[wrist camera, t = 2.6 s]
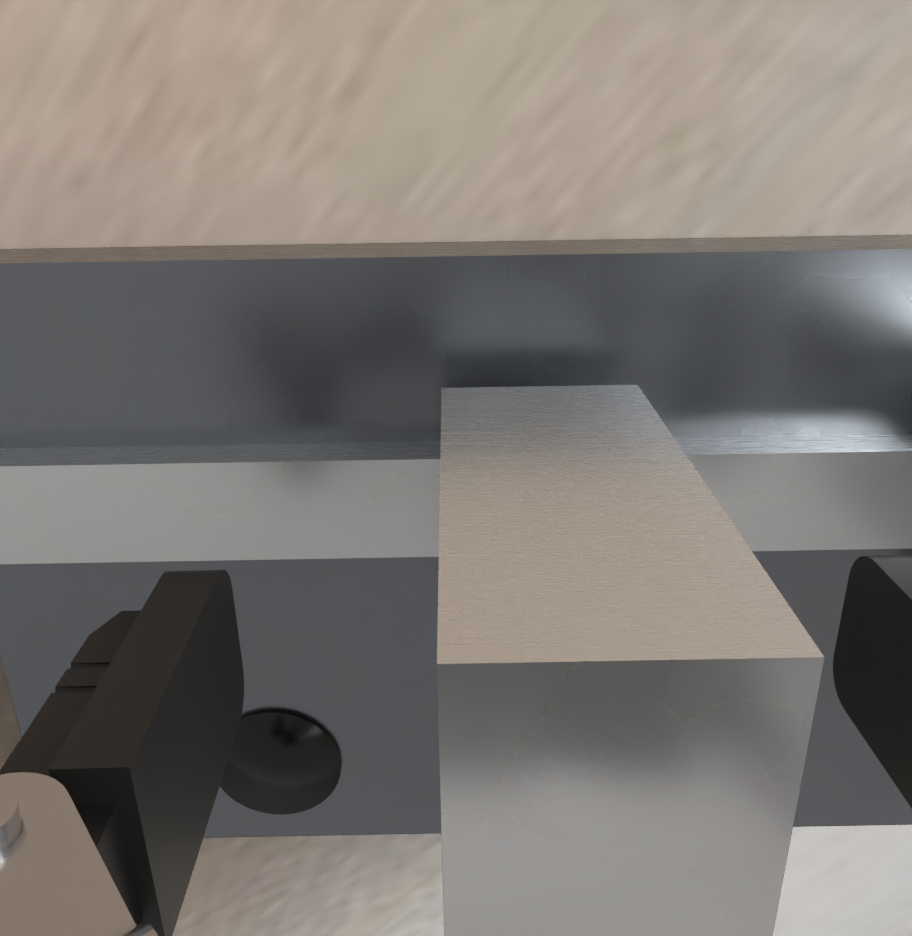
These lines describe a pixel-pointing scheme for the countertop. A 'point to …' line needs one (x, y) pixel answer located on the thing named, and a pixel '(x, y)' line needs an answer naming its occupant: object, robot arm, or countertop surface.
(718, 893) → the leg
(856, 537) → the hole plate
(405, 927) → the countertop surface
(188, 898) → the countertop surface
